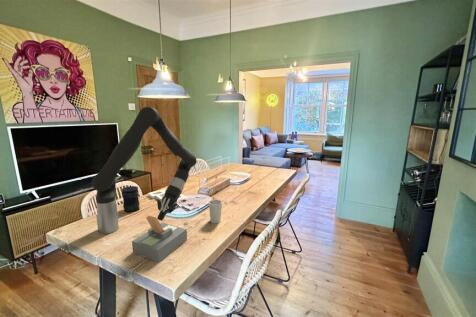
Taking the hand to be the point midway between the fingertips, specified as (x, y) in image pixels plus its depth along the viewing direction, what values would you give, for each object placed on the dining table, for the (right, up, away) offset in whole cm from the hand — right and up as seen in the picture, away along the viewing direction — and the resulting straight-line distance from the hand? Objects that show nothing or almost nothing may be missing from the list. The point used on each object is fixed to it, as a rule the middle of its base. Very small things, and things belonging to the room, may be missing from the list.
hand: (159, 219), depth 111 cm
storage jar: (-33, -5, +44) cm, 55 cm away
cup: (+24, -9, +30) cm, 39 cm away
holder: (-10, -3, +59) cm, 60 cm away
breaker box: (0, -14, +3) cm, 14 cm away
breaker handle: (0, -8, +2) cm, 8 cm away
